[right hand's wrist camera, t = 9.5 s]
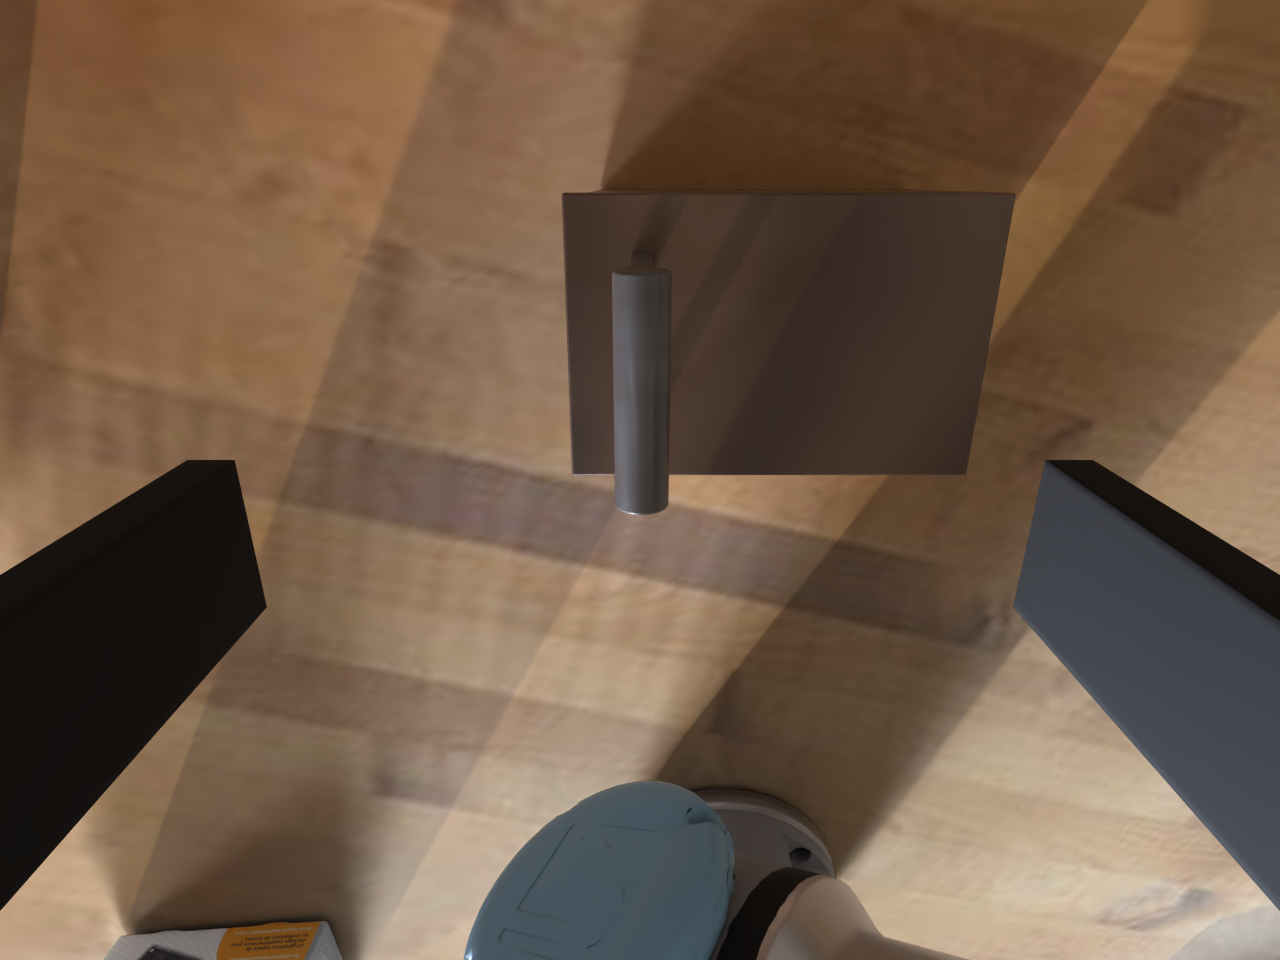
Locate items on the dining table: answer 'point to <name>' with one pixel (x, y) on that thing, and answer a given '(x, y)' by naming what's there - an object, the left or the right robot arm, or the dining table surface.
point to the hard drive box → (233, 944)
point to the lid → (776, 333)
